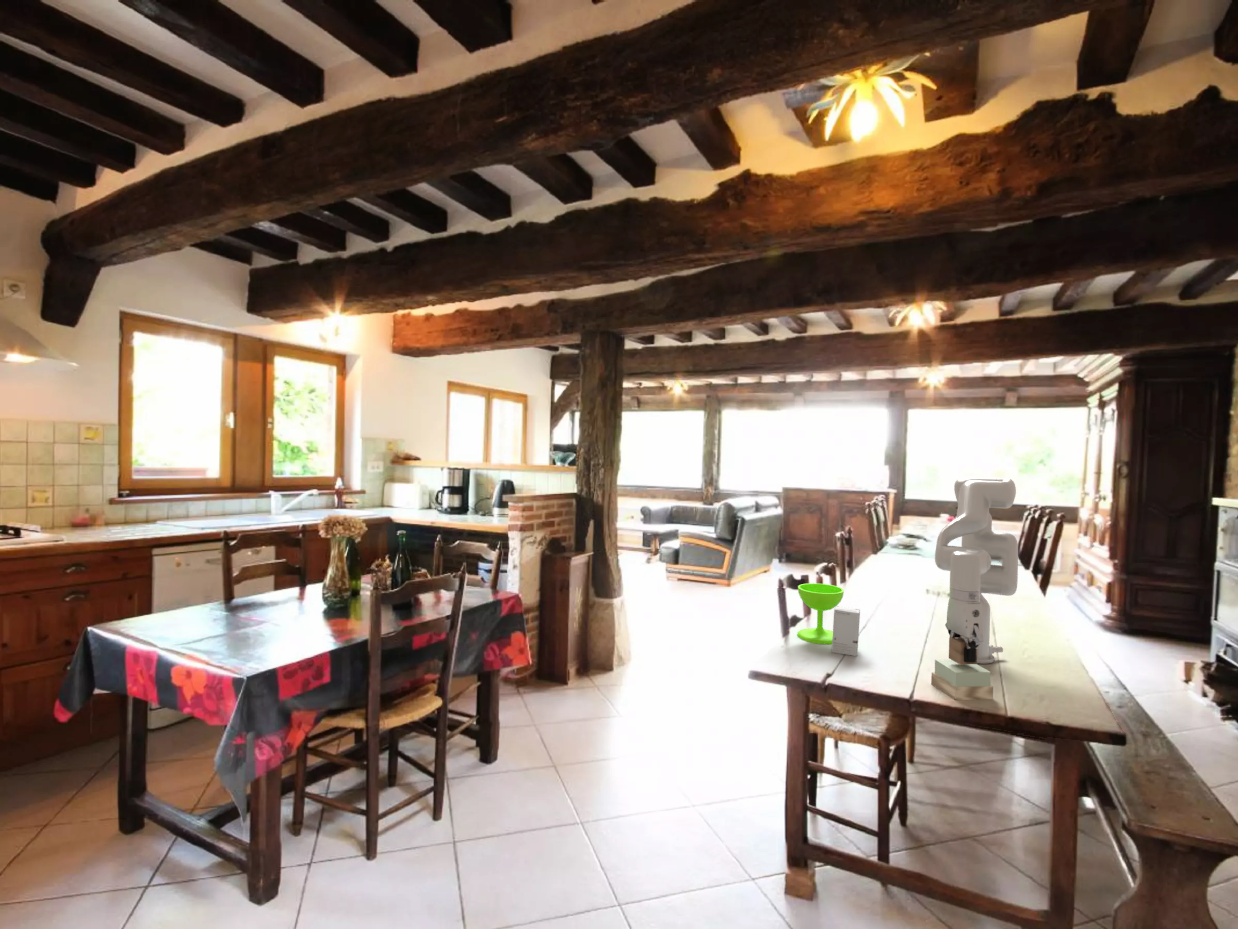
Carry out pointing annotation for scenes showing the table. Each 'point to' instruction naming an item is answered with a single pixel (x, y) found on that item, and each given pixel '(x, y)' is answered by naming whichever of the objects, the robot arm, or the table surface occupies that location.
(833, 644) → the skincare box
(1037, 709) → the table surface
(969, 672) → the block top
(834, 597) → the wineglass
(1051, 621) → the table surface
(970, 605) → the robot arm
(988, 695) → the block bottom
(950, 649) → the walnut block
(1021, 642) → the table surface
